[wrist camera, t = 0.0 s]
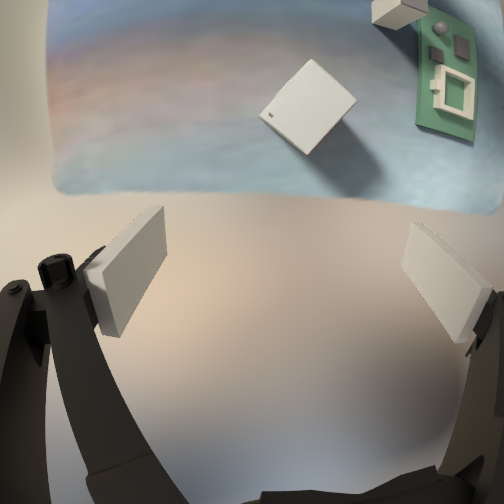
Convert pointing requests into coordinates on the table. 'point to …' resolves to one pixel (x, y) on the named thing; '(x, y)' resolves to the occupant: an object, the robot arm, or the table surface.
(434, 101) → the board
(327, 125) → the small box
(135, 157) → the table surface
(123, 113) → the table surface
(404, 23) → the plug
